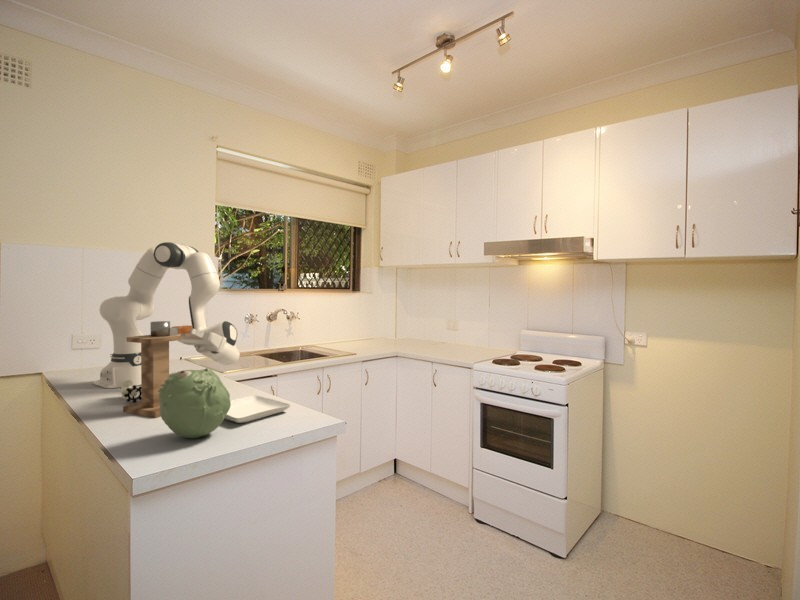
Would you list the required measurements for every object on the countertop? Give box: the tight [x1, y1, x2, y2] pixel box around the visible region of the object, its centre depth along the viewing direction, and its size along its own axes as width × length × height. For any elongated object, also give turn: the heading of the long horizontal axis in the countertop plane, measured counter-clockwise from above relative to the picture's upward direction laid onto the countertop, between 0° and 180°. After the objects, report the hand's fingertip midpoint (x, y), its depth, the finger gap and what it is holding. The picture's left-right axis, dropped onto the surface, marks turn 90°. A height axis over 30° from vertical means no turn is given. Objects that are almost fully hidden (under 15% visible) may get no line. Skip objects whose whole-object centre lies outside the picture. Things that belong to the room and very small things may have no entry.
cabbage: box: [158, 367, 231, 439], centre depth 118 cm, size 16×19×20 cm
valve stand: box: [122, 334, 183, 419], centre depth 143 cm, size 16×12×26 cm
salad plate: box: [224, 394, 292, 424], centre depth 141 cm, size 21×21×3 cm
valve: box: [120, 380, 141, 404], centre depth 156 cm, size 7×7×12 cm
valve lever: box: [150, 320, 193, 337], centre depth 149 cm, size 6×15×5 cm, turn 158°
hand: (181, 329), depth 153 cm, fingers open, 8 cm apart
